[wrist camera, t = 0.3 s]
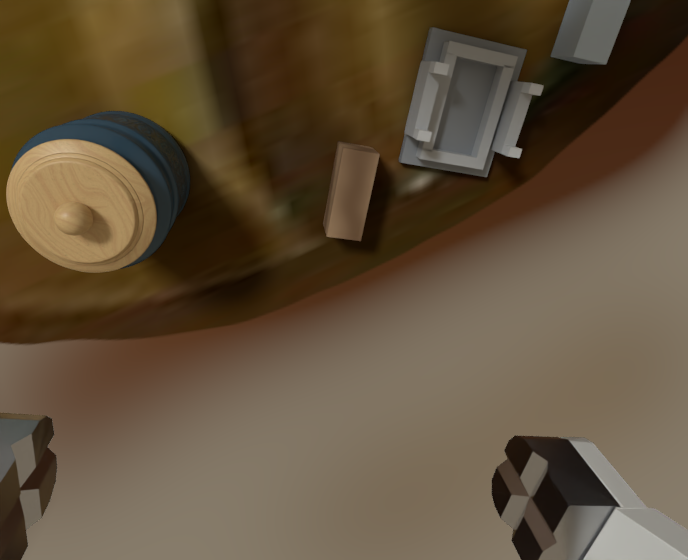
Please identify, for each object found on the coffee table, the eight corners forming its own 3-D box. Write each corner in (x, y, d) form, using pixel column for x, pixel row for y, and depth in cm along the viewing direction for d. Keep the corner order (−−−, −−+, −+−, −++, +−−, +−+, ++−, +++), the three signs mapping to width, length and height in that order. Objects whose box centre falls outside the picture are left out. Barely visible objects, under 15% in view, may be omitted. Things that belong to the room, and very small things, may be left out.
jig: (426, 26, 48) (445, 22, 43) (525, 50, 50) (556, 49, 45) (395, 160, 54) (409, 171, 48) (486, 175, 56) (509, 188, 51)
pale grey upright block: (577, -27, 48) (605, -35, 44) (609, -18, 49) (640, -25, 45) (549, 56, 51) (573, 56, 47) (580, 63, 52) (606, 64, 48)
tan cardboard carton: (322, 223, 56) (326, 236, 52) (337, 141, 52) (343, 147, 48) (354, 228, 57) (360, 241, 53) (371, 147, 53) (379, 154, 49)
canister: (201, 224, 54) (172, 292, 38) (84, 232, 52) (4, 307, 36) (181, 106, 48) (137, 130, 32) (49, 111, 46) (-64, 139, 31)
